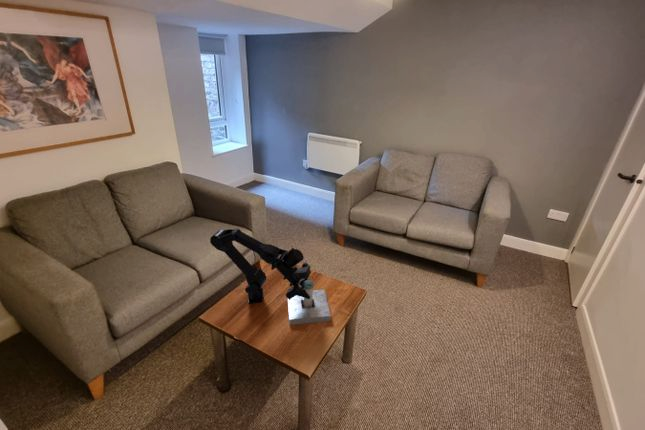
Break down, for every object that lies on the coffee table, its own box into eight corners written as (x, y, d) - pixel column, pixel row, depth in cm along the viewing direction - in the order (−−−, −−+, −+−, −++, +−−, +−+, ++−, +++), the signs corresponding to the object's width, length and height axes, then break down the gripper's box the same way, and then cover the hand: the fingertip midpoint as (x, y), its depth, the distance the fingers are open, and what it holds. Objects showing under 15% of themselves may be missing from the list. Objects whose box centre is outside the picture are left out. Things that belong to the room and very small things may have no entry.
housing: (289, 324, 134) (289, 319, 133) (287, 297, 150) (287, 292, 149) (330, 321, 137) (330, 315, 136) (324, 294, 153) (324, 289, 152)
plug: (306, 311, 140) (306, 287, 135) (301, 305, 144) (301, 282, 138) (314, 307, 143) (315, 284, 137) (309, 301, 146) (310, 278, 141)
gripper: (292, 274, 126) (318, 301, 128) (306, 251, 142) (328, 275, 145) (275, 286, 131) (300, 312, 133) (289, 262, 147) (311, 285, 150)
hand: (311, 295), depth 140 cm, fingers open, 4 cm apart
